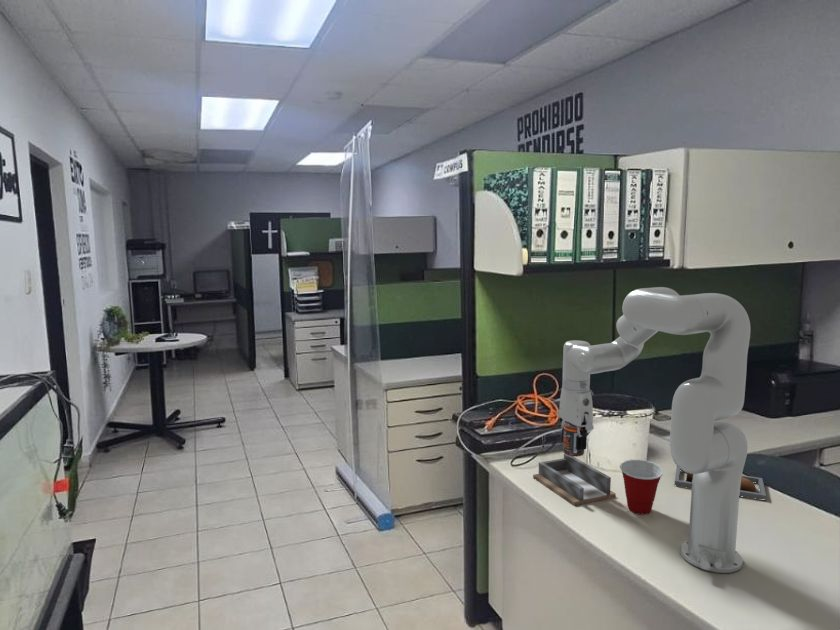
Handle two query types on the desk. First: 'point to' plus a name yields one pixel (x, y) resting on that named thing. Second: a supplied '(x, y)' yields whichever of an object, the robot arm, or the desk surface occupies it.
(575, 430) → the supplement bottle
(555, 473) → the board
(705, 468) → the robot arm
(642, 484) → the plastic cup
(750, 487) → the sunglasses case
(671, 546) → the desk surface
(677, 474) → the desk tray frame
